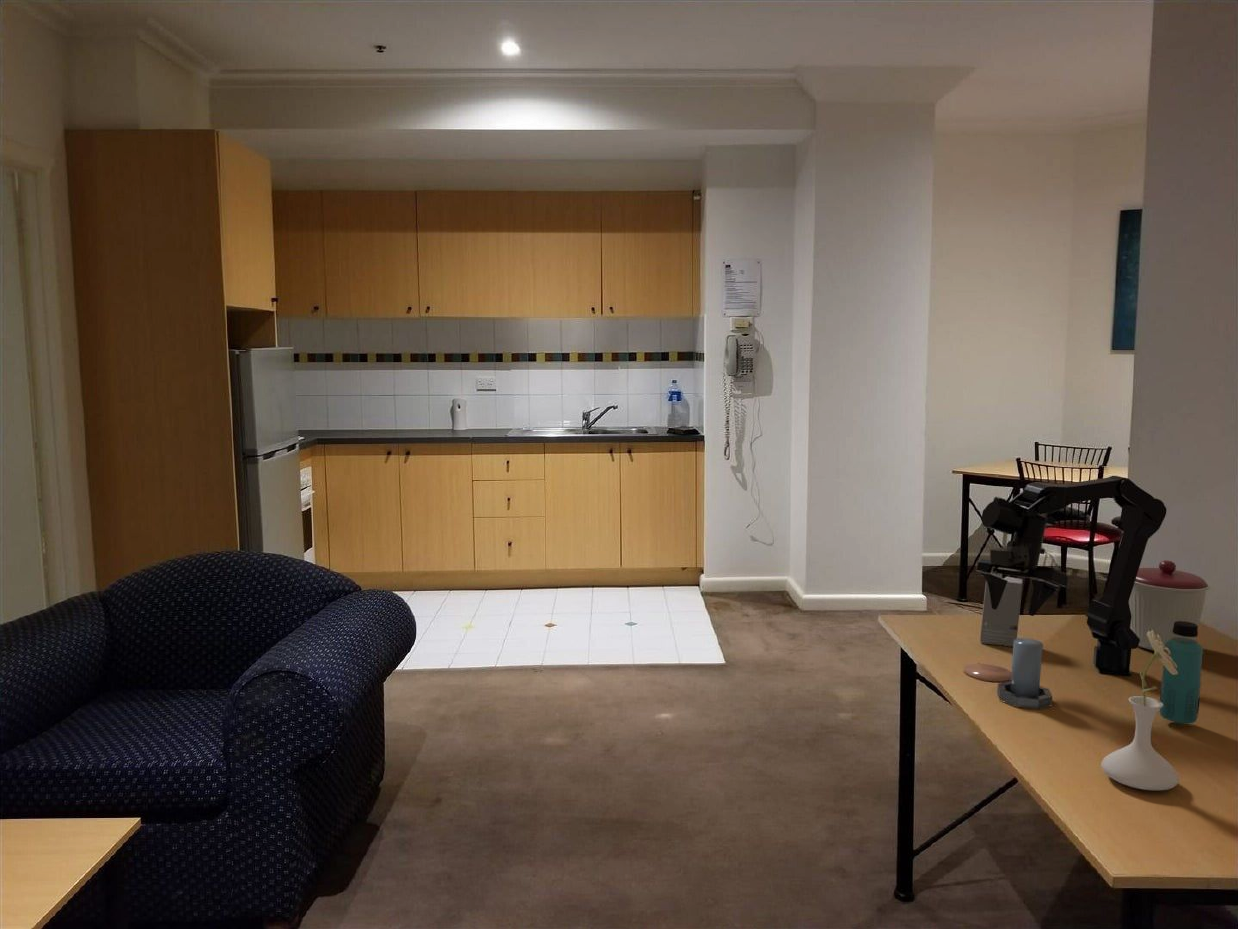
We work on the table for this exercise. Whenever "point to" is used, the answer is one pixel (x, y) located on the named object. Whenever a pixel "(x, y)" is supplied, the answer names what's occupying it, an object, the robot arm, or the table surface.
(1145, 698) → the flower in vase
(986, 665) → the terracotta coaster
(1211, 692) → the table surface
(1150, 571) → the canister
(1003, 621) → the skincare box
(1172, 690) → the beverage bottle
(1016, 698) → the dark grey octagonal ring
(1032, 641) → the blue-grey cylinder
